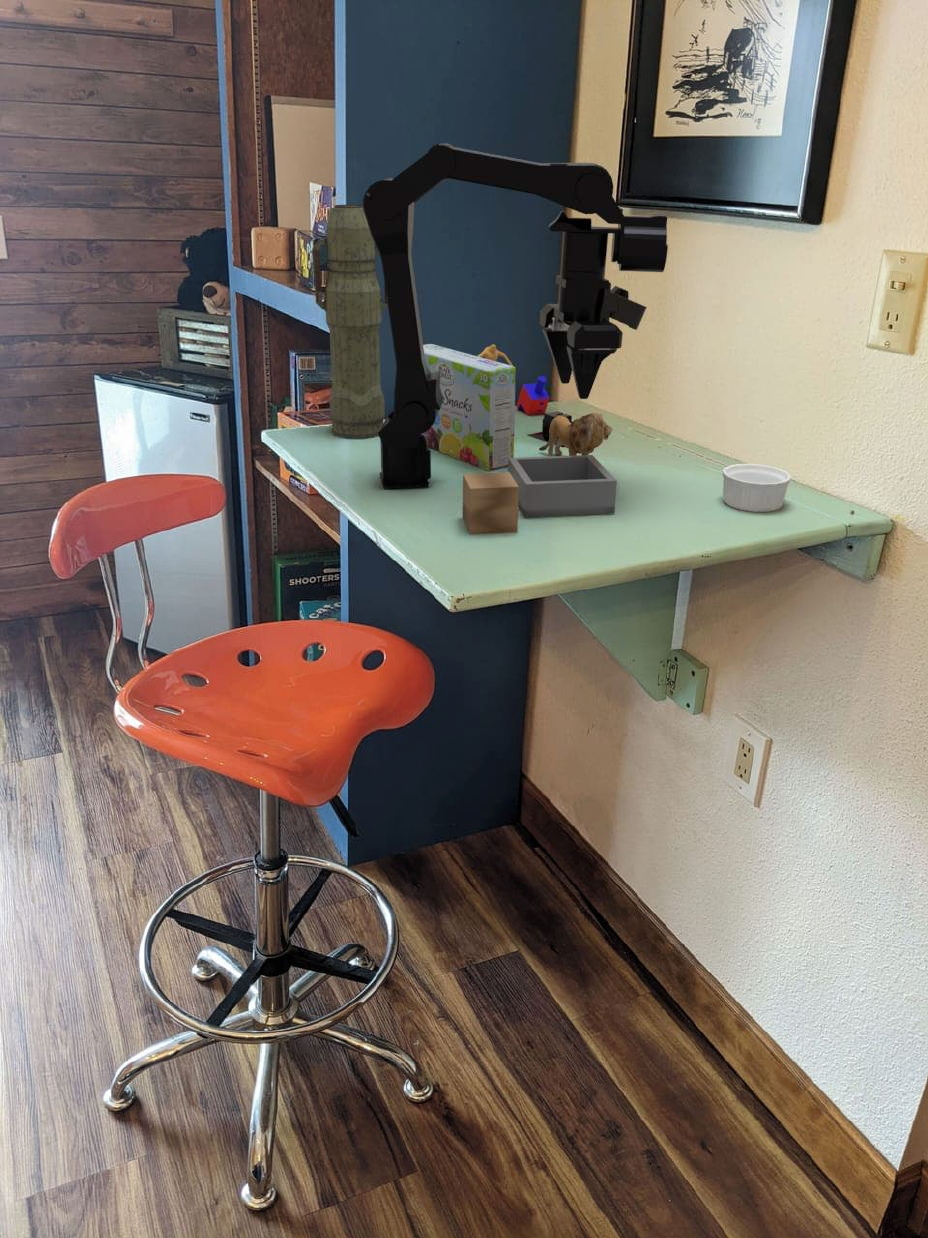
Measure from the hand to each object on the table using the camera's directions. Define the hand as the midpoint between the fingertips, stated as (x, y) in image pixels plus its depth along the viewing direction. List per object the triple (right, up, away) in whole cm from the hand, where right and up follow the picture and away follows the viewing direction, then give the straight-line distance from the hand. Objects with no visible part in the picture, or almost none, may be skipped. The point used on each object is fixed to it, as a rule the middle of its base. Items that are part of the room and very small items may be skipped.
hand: (574, 390), depth 136 cm
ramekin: (+24, -15, 0) cm, 29 cm away
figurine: (-9, +6, +44) cm, 45 cm away
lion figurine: (+1, -8, +16) cm, 17 cm away
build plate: (0, -2, +29) cm, 29 cm away
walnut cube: (-12, -19, -9) cm, 24 cm away
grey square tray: (-2, -15, 0) cm, 15 cm away
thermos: (-33, 0, +31) cm, 45 cm away
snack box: (-16, -5, +21) cm, 27 cm away
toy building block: (-3, +6, +45) cm, 45 cm away
